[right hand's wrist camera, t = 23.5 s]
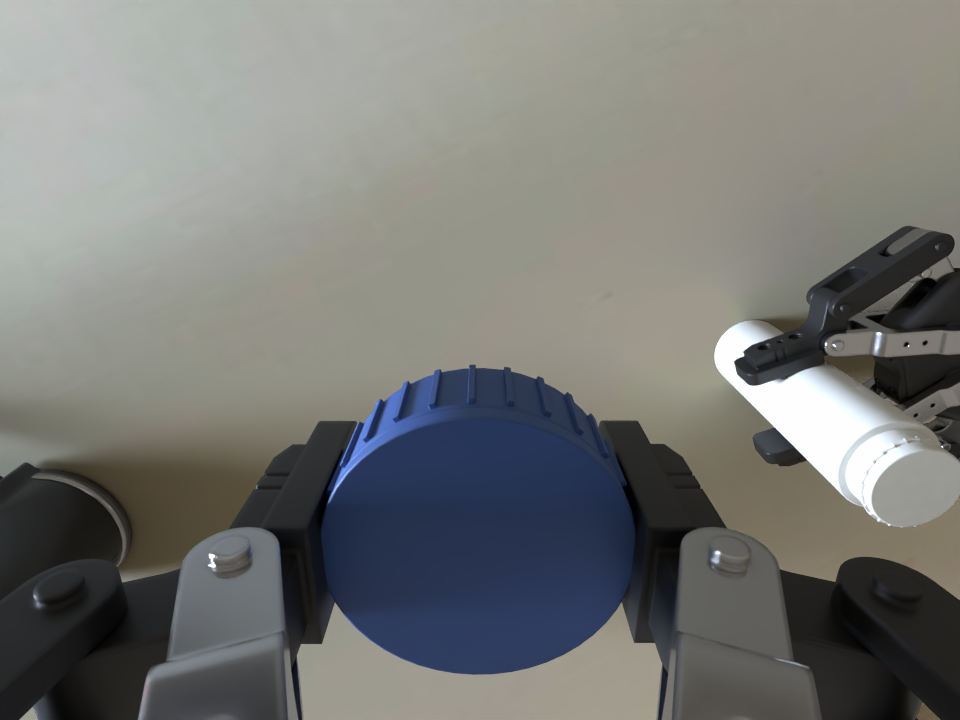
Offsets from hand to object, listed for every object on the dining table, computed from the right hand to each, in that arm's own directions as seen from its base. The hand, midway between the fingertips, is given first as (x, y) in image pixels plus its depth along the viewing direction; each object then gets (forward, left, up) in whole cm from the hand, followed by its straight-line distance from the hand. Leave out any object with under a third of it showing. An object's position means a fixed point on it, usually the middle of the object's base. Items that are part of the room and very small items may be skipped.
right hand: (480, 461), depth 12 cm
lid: (0, 0, +3) cm, 3 cm away
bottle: (+17, +7, -24) cm, 30 cm away
